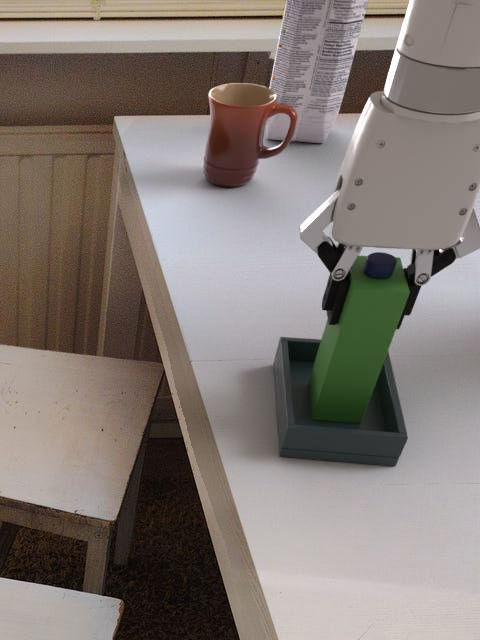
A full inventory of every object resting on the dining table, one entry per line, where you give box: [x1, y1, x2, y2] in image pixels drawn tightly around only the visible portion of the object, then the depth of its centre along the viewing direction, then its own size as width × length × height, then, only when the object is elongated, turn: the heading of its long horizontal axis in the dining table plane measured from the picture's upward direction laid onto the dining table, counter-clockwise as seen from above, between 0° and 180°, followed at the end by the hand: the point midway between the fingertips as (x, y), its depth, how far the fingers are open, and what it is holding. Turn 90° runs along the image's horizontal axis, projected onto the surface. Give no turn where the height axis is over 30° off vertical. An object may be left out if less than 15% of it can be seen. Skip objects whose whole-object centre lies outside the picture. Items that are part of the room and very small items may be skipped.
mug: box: [202, 82, 298, 188], centre depth 110 cm, size 12×9×10 cm
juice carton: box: [265, 0, 369, 144], centre depth 114 cm, size 9×10×27 cm
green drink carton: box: [308, 251, 410, 423], centre depth 74 cm, size 6×4×14 cm
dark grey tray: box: [272, 336, 409, 467], centre depth 79 cm, size 15×10×3 cm
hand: (362, 317), depth 73 cm, fingers closed on green drink carton, 4 cm apart
